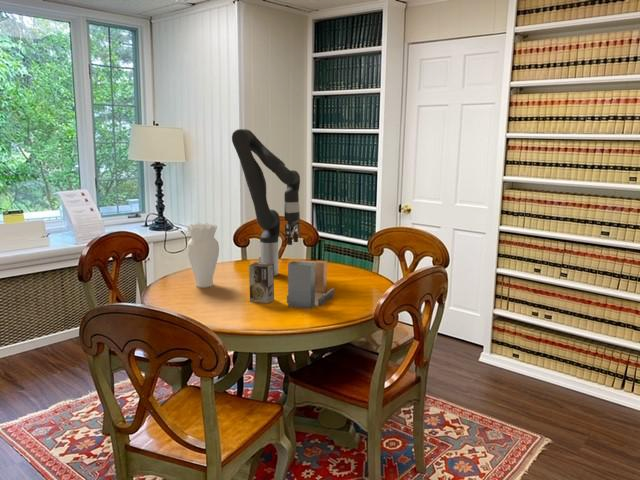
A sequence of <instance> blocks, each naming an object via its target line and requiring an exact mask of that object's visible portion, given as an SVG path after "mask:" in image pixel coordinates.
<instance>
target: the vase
mask: <svg viewBox="0 0 640 480" xmlns="http://www.w3.org/2000/svg"><path fill="white" fill-rule="evenodd" d="M217 229H218V226H217V225H216V224H215V223H211V224H210V223H208V222H205V223H204V224H202V223H200V222H197V223H194V224H189V225H188V226H187V230H188V232H189V235H190V237H191V238H190V239H189V240H188V242H187V243H186V244H187V246H186V247H187V248H186V251H187V257H188V260H189V263H190V266H191V269H192V272H193V275H194V278H195V286H196V287H197V286H199V287H198V288H210V287H213V286H214V275H215V271H216V266H217V264H218V259H219V254H220V245H219V241H218V239H216V238H215V235H216V232H217V231H216V230H217ZM209 286H210V287H209Z"/></svg>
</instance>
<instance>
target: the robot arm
mask: <svg viewBox="0 0 640 480" xmlns="http://www.w3.org/2000/svg"><path fill="white" fill-rule="evenodd" d="M231 142H232V144H233V147H234V150H235V151H236V154H237V156H238V159H239V162H240V165H241V168H242V171H243V174H244V177H245V181H246V184H247V188H248V191H249V194H250V197H251V200H252V204H253V207H254V212H255V216H256V221H257V224H258V226H259V227H260V228H261V229H262V233H261V234H260V236H259V250H260V251H259V252H260V253H259V254H260V255H259V256H258V263H271V264H274V277H276V276H278V275H279V237H280V234H281V233H280V230H281V218H280V214H279V213H278V211H276V210H275V209H270V207H269V205H268V200H267V181H266V179H265V175H264V171H263V170H262V168H261V166H260V164H259V163H258V162H257V160H256V159H255V157H254V155H253V154H255V155H256V156H257V157H258V158H259V160H260V161H261V163H262V164H263V165H264V166H265V168H267V169H268V170H270V171H271V172H272V173H273V174H275V176H276V177H277V178H278V179H279V180H280V181H281V182H282V183H283V184H284V185H286V190H285V191H284V206H283V207H284V209H283V210H284V221H286V222H287V224H286V223H285V225H284V229H285V230H284V232H285V234H284V236H285V237H286V238H287V245H288V246H292V245H293V243H297V242H299V234H300V233H301V231H300V230H301V228H300V220H301V219H300V218H301V215H300V214H301V213H300V212H301V211H300V201H299V200H300V199H299V198H300V197H299V196H300V195H299V191H300V186H301V177H300V173H299V172H298V171H297V170H290V169H289V168H288V167H287V166H286V164H285V162H284V161H283V160H281V159H280V158H279V157H278V156H276V155H275V153H273V152H271V151H270V150H269V149H268V148H267V147H266V146H265V145H264V144H263V143H262V142H261V141H260V140H259V138H257V136H256V135H255V134H254V133H253V132H252V131H251V130H249V129H247V128H246V129H244V128H239V129H238V128H237V129H235V130H234V131H233V132H232V134H231Z"/></svg>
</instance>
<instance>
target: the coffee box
mask: <svg viewBox="0 0 640 480" xmlns="http://www.w3.org/2000/svg"><path fill="white" fill-rule="evenodd" d="M248 273H249V274H248V278H249V279H248V281H249V302H253V303H254V302H255V303H263V304H264V303H265V304H270V303H271V302H273V301H274V300H275V276H274V264H271V263H259V261H258V262H257V261H255V262H253V263H251V264H249V265H248Z"/></svg>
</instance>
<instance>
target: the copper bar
mask: <svg viewBox="0 0 640 480" xmlns="http://www.w3.org/2000/svg"><path fill="white" fill-rule="evenodd" d="M315 262H316V265H315V292H319V293H327V292H328V290H327V289H328V287H327V286H328V285H327V284H328V283H327V282H328V278H327V277H328V261H327V260H316V261H315Z"/></svg>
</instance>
